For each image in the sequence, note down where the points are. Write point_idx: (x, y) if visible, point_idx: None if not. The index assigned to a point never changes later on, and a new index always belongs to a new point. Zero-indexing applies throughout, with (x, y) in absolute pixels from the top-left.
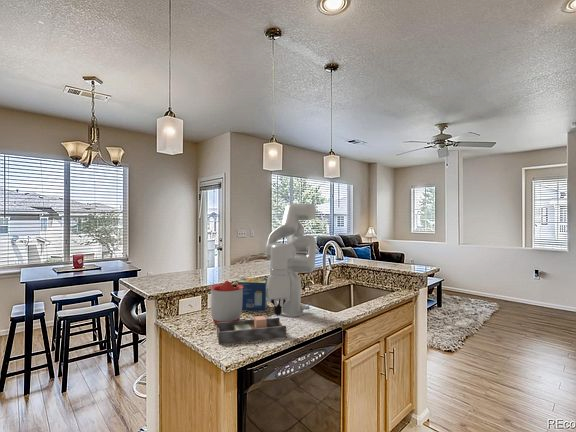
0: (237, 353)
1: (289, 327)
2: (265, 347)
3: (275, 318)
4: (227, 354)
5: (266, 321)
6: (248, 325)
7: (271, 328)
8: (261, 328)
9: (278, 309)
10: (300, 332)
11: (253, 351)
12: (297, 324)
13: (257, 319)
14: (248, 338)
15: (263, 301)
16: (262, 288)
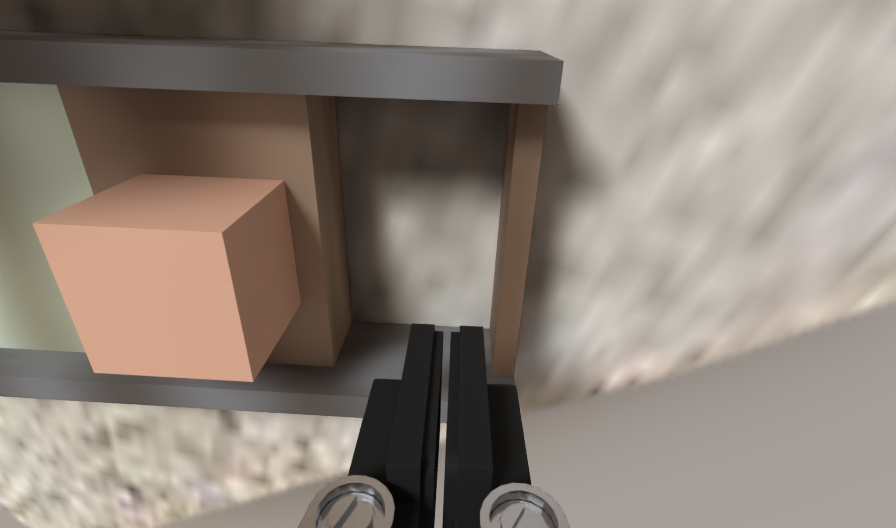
0: (95, 474)
1: (678, 101)
2: (288, 456)
3: (484, 99)
4: (31, 469)
5: (266, 358)
6: (56, 135)
7: (336, 409)
8: (217, 403)
9: (434, 519)
10: (704, 289)
11: (201, 479)
12: (866, 9)
13: (110, 358)
14: None
15: None
16: None
